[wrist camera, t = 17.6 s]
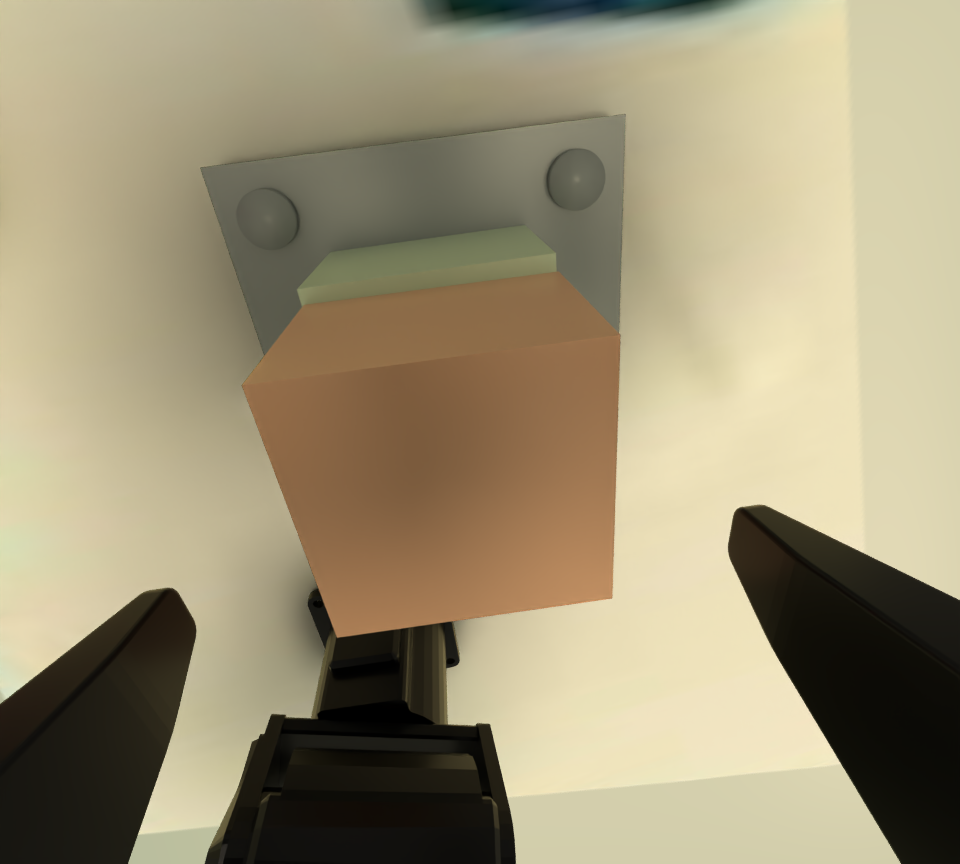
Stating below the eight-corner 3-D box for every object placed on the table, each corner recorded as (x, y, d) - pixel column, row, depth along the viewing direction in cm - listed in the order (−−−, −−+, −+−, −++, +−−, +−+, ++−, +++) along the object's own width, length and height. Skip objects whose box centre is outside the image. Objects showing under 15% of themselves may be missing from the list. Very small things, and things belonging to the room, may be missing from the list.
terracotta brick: (565, 479, 15) (612, 598, 11) (361, 507, 15) (337, 637, 11) (558, 271, 12) (620, 334, 8) (303, 305, 12) (241, 385, 8)
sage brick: (536, 399, 19) (564, 467, 15) (373, 422, 19) (358, 497, 15) (524, 225, 16) (556, 253, 12) (330, 252, 16) (296, 289, 12)
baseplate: (604, 445, 22) (619, 472, 20) (323, 484, 22) (313, 514, 20) (609, 116, 16) (631, 113, 14) (219, 165, 16) (193, 168, 14)
